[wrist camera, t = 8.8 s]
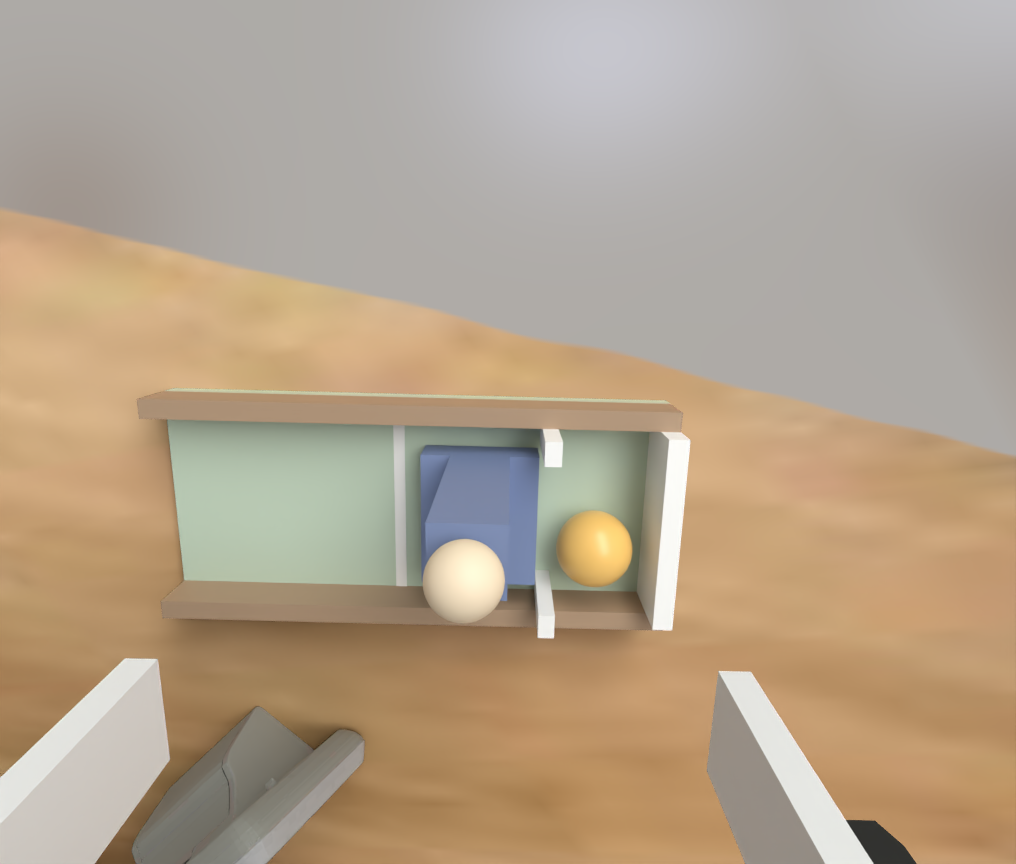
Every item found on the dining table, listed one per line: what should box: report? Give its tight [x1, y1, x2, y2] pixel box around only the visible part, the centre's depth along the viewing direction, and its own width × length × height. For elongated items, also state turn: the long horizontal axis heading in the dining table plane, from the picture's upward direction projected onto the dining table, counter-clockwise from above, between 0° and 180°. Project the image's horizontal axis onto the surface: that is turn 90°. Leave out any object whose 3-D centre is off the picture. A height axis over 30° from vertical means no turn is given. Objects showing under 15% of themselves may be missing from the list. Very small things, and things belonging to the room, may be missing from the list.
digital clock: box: [132, 707, 364, 864], centre depth 34 cm, size 16×9×11 cm, turn 123°
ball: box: [556, 510, 632, 587], centre depth 32 cm, size 4×4×4 cm
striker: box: [420, 445, 539, 623], centre depth 26 cm, size 6×7×14 cm
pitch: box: [137, 388, 690, 638], centre depth 32 cm, size 27×12×6 cm, turn 89°
